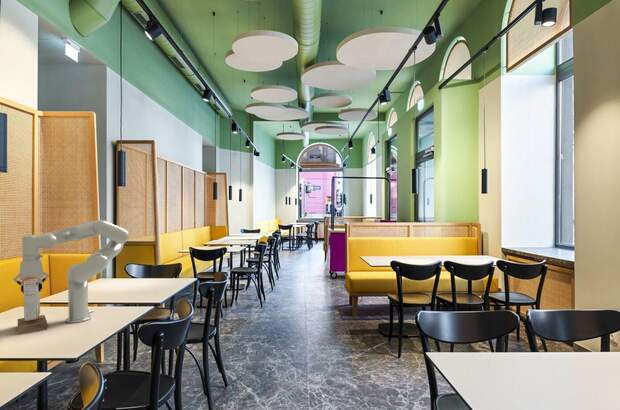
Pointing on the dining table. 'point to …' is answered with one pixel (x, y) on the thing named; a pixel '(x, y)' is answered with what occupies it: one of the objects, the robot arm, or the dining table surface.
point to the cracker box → (31, 299)
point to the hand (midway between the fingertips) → (31, 291)
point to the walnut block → (32, 325)
